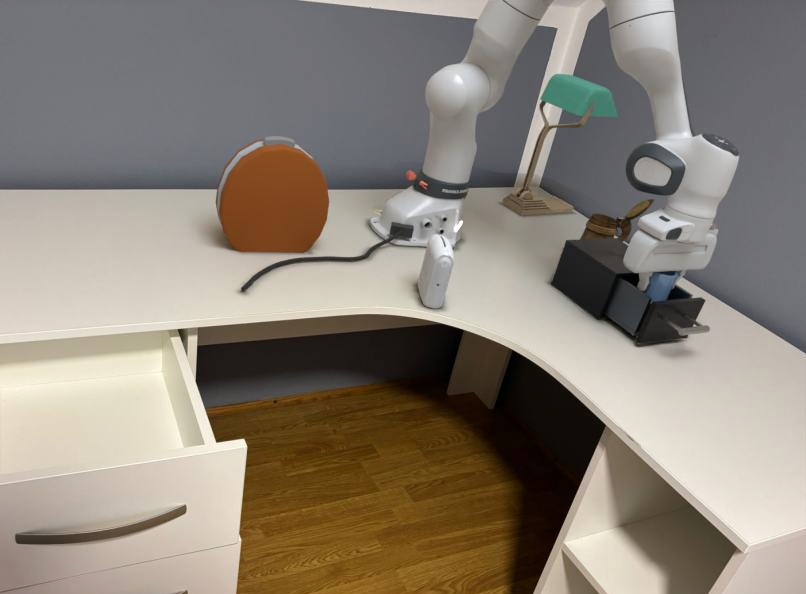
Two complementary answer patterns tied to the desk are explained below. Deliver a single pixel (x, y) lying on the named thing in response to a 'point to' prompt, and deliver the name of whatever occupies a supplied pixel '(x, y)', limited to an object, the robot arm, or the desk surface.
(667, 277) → the cup
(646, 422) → the desk surface
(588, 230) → the wooden mug
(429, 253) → the photo printer
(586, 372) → the desk surface
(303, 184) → the alarm clock
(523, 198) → the banker's lamp
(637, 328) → the drawer
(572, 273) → the black box
